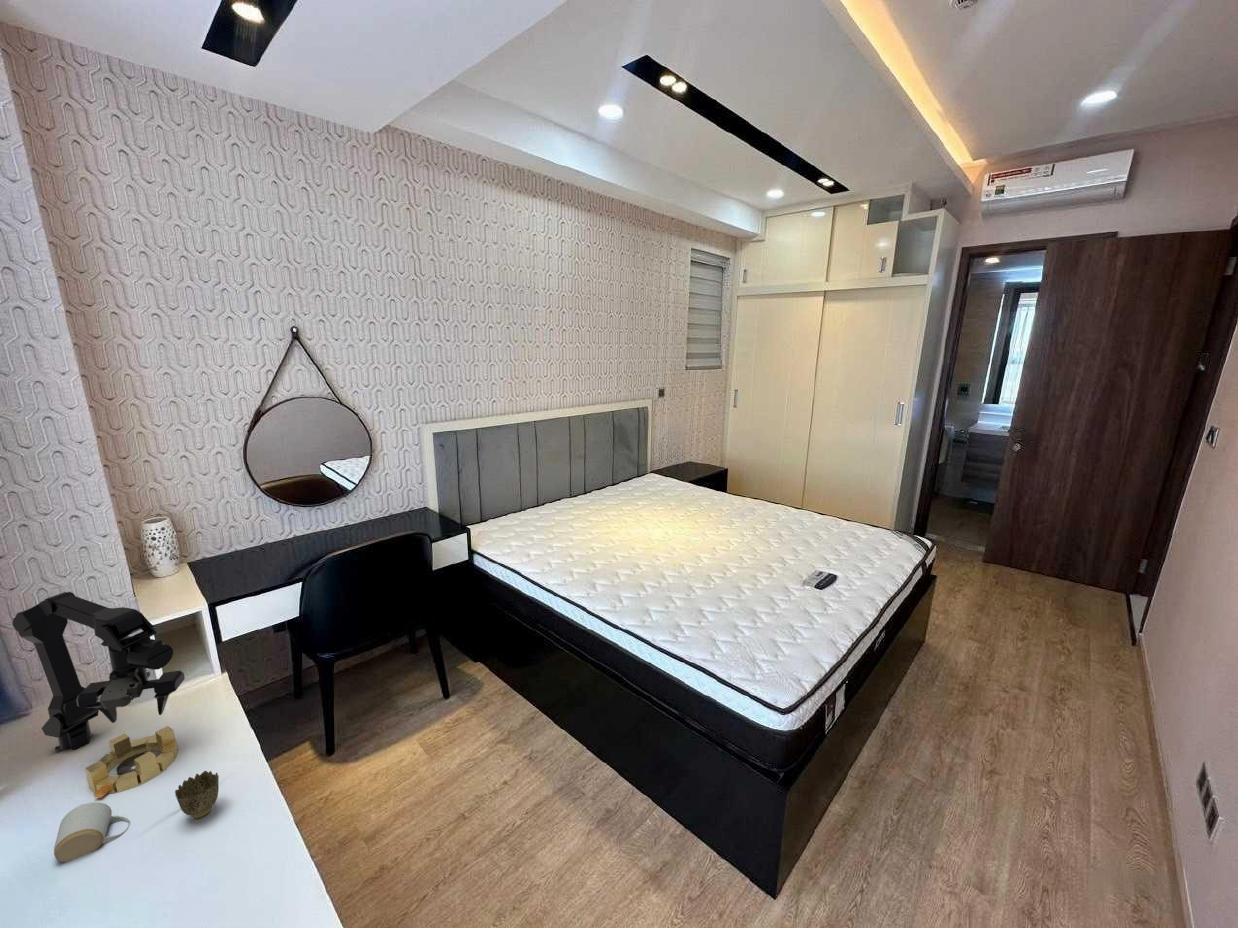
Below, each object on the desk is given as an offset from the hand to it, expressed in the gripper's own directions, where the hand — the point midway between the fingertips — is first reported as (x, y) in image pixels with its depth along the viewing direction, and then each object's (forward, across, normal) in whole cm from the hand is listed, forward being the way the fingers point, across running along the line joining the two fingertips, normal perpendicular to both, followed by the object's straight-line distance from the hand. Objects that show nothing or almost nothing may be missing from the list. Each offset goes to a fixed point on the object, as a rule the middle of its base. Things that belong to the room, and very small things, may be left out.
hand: (138, 717), depth 126 cm
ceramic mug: (+12, +2, -24) cm, 27 cm away
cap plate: (+12, 0, -4) cm, 13 cm away
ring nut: (+11, 0, -4) cm, 12 cm away
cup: (+12, +20, -24) cm, 33 cm away
